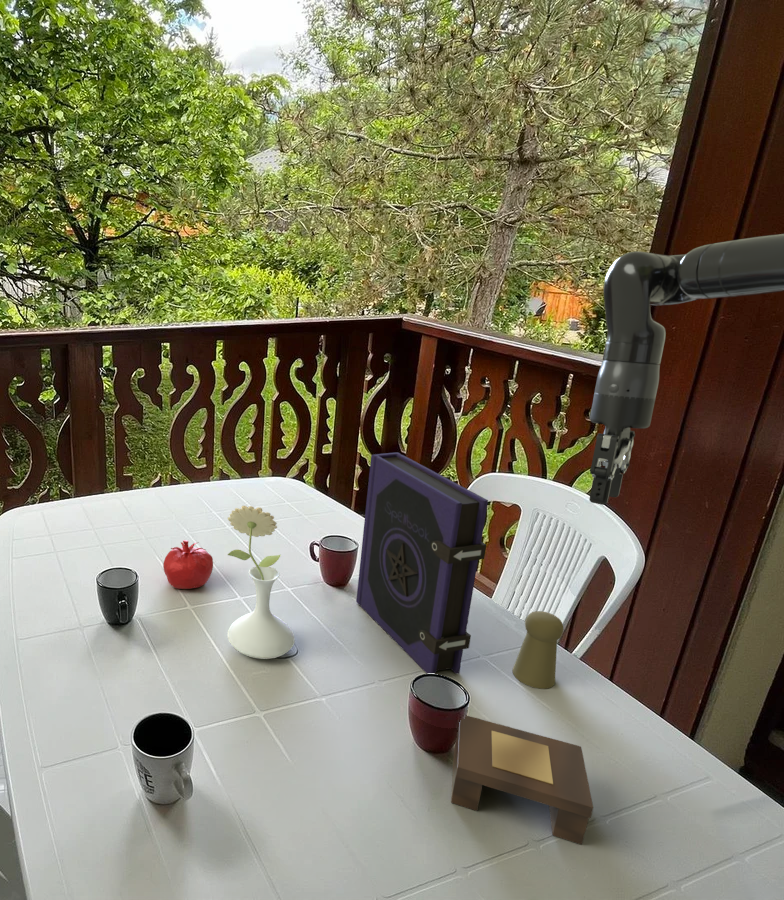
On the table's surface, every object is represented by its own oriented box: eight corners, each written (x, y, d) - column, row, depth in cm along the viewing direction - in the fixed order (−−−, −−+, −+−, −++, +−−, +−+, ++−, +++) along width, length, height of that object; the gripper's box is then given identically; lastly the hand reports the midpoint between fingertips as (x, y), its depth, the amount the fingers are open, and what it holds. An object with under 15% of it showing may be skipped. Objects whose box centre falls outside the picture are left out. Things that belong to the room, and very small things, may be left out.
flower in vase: (305, 641, 110) (315, 507, 102) (273, 674, 101) (281, 532, 93) (241, 615, 117) (246, 489, 110) (206, 645, 109) (208, 510, 101)
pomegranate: (213, 595, 124) (214, 552, 121) (161, 594, 124) (161, 551, 121) (212, 570, 133) (213, 530, 130) (164, 569, 134) (164, 529, 131)
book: (354, 602, 122) (369, 454, 112) (383, 598, 123) (400, 451, 114) (430, 680, 100) (456, 505, 91) (464, 674, 102) (493, 501, 92)
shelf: (571, 784, 81) (581, 745, 79) (582, 848, 72) (593, 807, 70) (453, 749, 86) (460, 712, 85) (450, 806, 78) (457, 766, 76)
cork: (554, 693, 97) (568, 632, 94) (510, 680, 100) (523, 620, 97) (555, 671, 102) (568, 612, 99) (513, 660, 105) (525, 601, 102)
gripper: (647, 397, 86) (624, 512, 89) (662, 395, 96) (641, 499, 99) (584, 391, 91) (564, 500, 94) (605, 390, 101) (586, 488, 104)
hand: (604, 499), depth 97 cm, fingers open, 8 cm apart
